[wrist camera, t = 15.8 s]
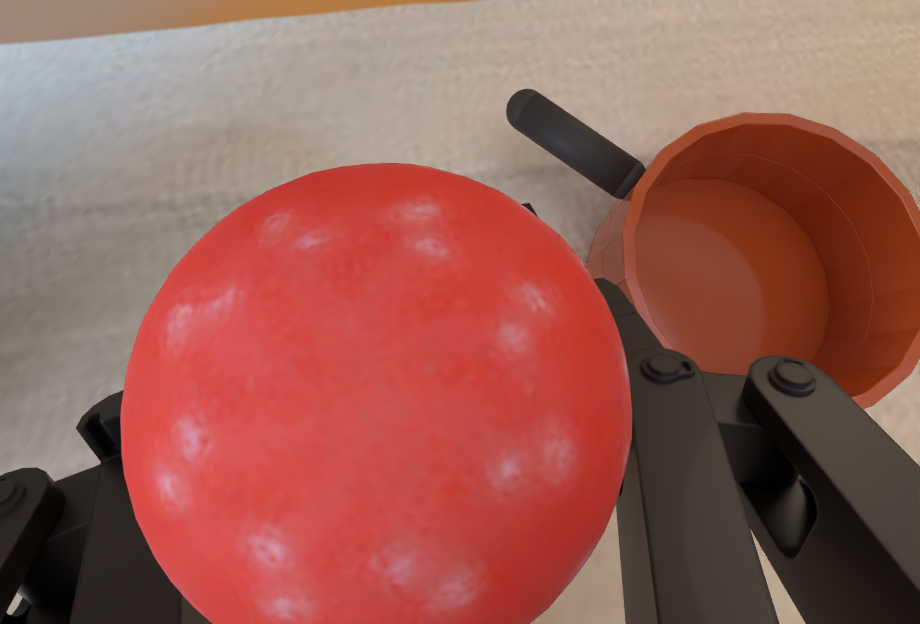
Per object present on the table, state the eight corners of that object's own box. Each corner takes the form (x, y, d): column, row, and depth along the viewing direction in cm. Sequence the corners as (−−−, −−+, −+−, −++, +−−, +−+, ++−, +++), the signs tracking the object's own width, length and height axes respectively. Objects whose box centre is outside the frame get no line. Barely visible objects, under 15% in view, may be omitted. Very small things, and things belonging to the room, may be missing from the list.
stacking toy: (299, 392, 22) (-567, 300, 3) (435, 268, 23) (388, -321, 4) (424, 533, 21) (246, 1583, 2) (560, 397, 22) (1174, 341, 3)
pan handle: (496, 124, 26) (500, 102, 24) (518, 97, 26) (524, 72, 25) (624, 213, 25) (639, 197, 23) (645, 183, 26) (661, 165, 24)
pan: (535, 313, 28) (560, 288, 22) (672, 126, 30) (728, 58, 24) (755, 473, 26) (845, 493, 21) (880, 265, 29) (992, 229, 23)
